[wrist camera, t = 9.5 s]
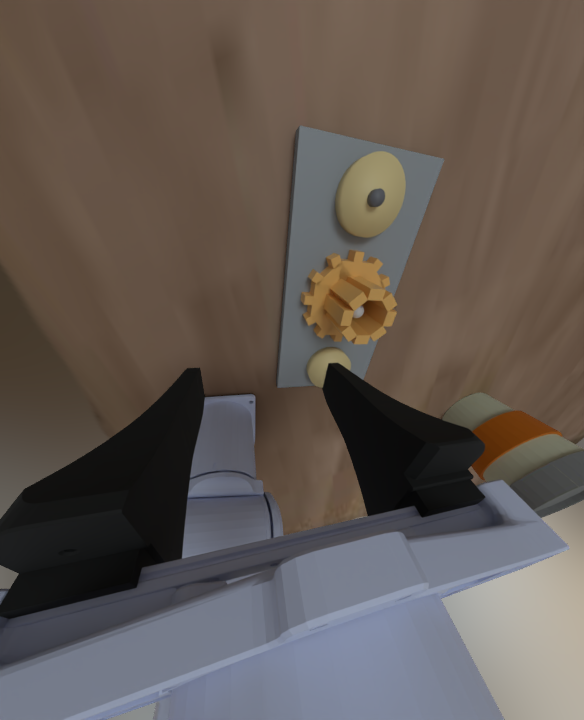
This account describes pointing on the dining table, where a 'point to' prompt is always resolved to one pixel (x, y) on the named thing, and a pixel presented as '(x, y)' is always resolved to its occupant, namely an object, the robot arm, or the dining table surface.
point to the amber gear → (349, 299)
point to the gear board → (345, 235)
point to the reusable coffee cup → (522, 453)
